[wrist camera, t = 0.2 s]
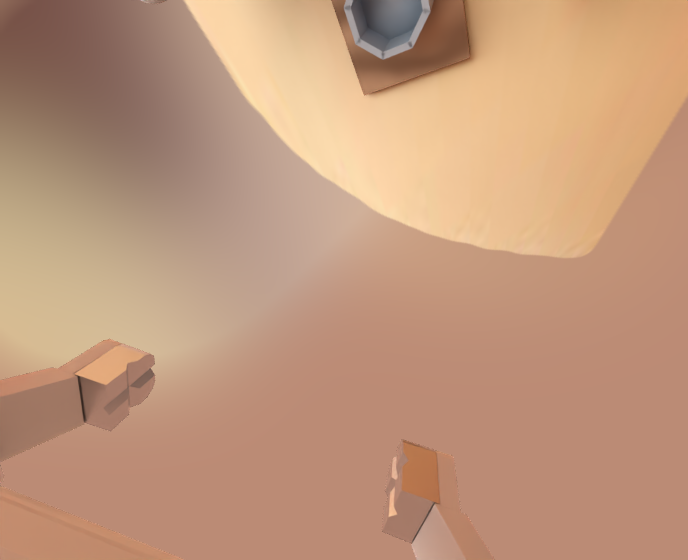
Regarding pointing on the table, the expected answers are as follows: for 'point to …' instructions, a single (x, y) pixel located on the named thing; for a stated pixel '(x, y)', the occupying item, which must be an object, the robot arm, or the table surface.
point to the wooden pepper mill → (153, 1)
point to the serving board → (426, 55)
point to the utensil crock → (386, 24)
